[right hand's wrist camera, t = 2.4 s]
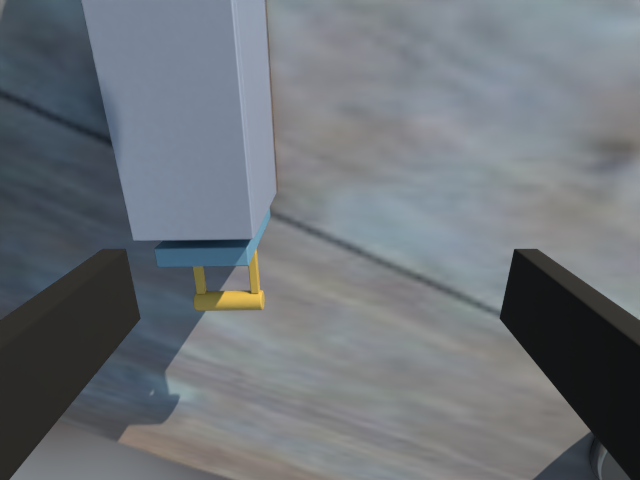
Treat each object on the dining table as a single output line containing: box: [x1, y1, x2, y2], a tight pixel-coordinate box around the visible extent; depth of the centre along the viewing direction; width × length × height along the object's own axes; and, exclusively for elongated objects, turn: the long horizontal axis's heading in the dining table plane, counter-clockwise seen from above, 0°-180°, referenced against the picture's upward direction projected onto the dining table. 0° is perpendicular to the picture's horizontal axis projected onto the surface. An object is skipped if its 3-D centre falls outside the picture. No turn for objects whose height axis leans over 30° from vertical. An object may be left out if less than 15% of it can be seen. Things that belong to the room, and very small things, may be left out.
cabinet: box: [81, 0, 278, 241], centre depth 21 cm, size 20×7×11 cm, turn 1°
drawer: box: [154, 207, 270, 311], centre depth 23 cm, size 25×5×10 cm, turn 1°
